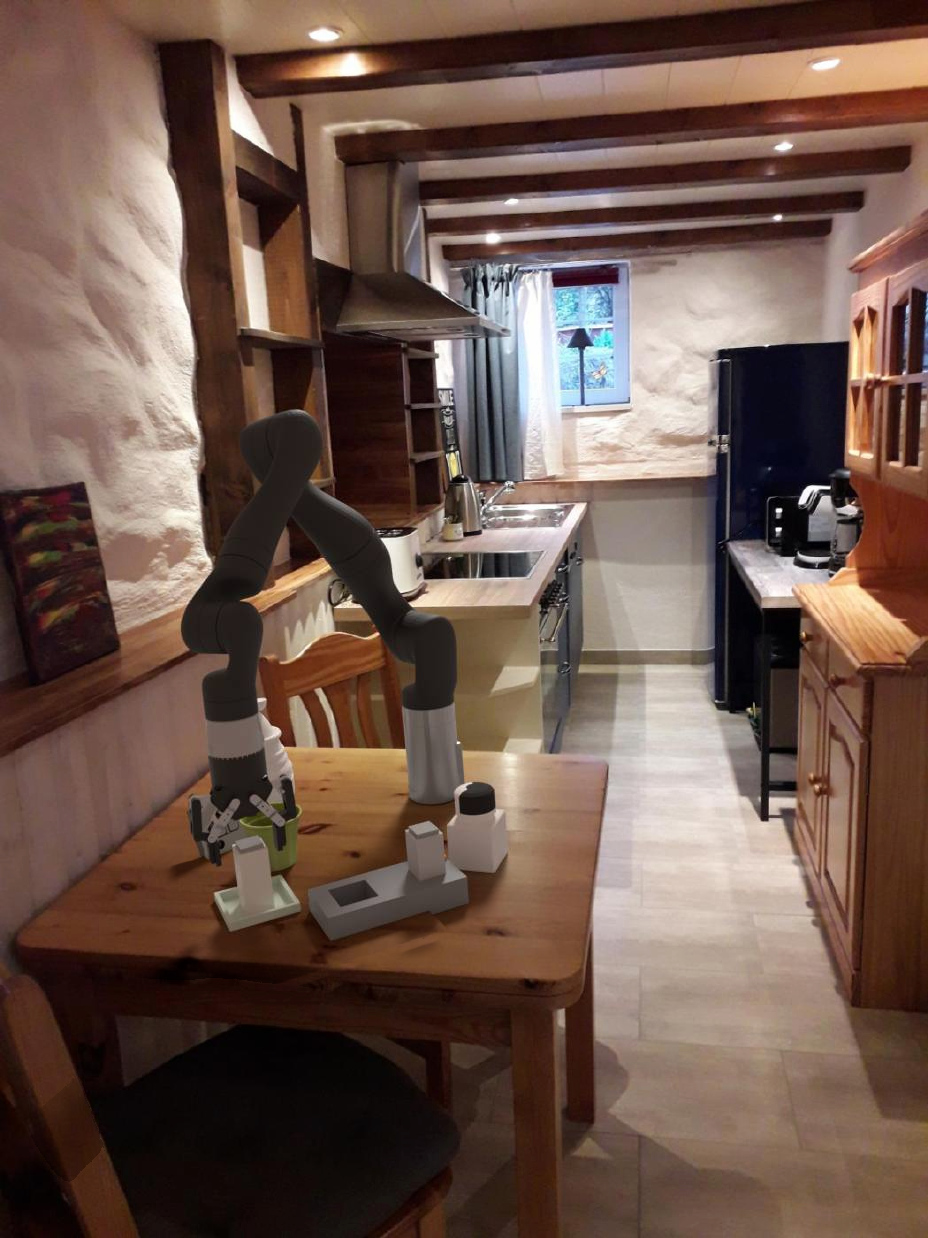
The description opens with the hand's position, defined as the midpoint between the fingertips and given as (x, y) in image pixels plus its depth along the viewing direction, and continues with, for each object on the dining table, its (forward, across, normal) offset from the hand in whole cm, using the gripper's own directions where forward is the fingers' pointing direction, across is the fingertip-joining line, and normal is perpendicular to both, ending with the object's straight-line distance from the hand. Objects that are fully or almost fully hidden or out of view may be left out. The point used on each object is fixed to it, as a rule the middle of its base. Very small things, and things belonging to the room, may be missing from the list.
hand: (248, 857), depth 131 cm
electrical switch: (+8, 0, -23) cm, 24 cm away
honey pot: (+8, -11, -42) cm, 44 cm away
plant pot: (+8, -6, -12) cm, 16 cm away
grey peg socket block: (+8, -16, +10) cm, 21 cm away
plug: (+8, 0, 0) cm, 8 cm away
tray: (+8, 0, 0) cm, 8 cm away
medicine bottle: (+8, -33, +4) cm, 35 cm away
